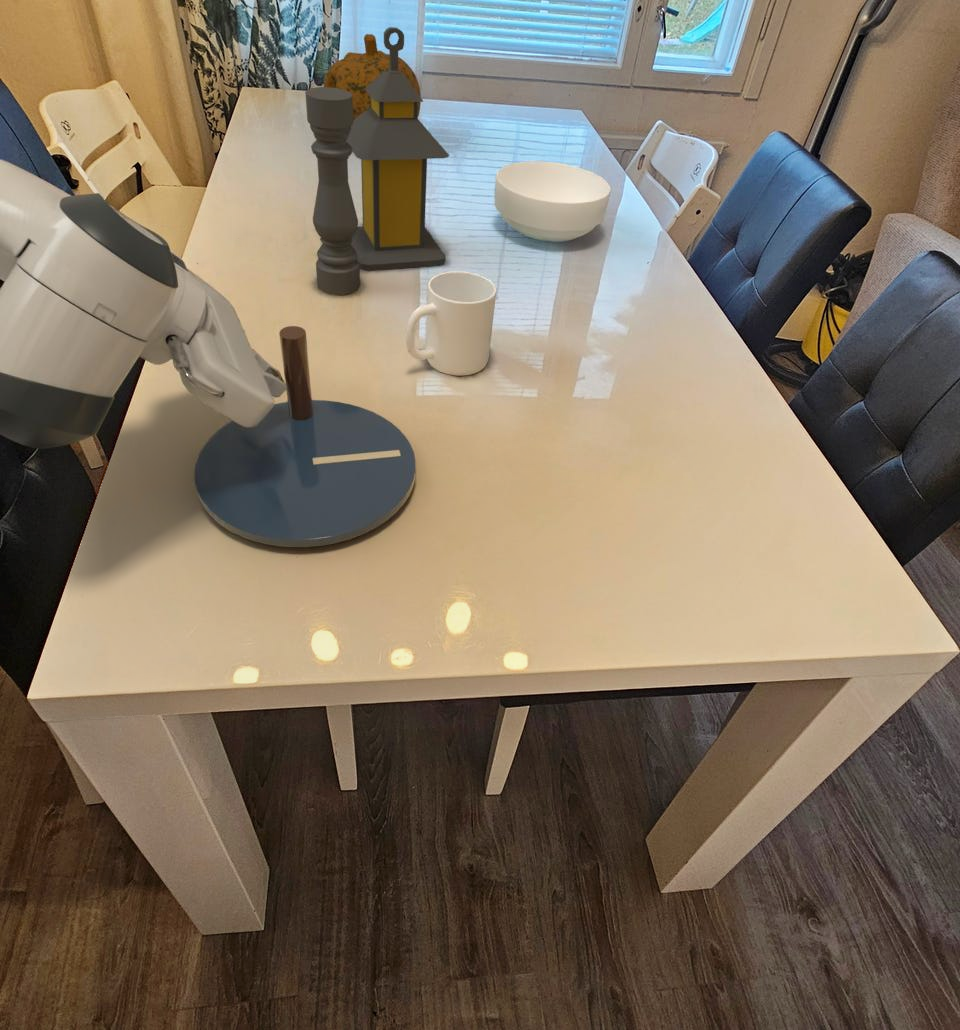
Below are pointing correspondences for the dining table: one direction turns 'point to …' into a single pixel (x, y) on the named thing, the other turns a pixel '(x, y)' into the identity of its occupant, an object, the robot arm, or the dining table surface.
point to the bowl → (550, 199)
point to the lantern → (394, 173)
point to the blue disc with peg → (305, 466)
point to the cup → (455, 323)
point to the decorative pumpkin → (365, 74)
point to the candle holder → (333, 190)
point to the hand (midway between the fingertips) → (279, 385)
